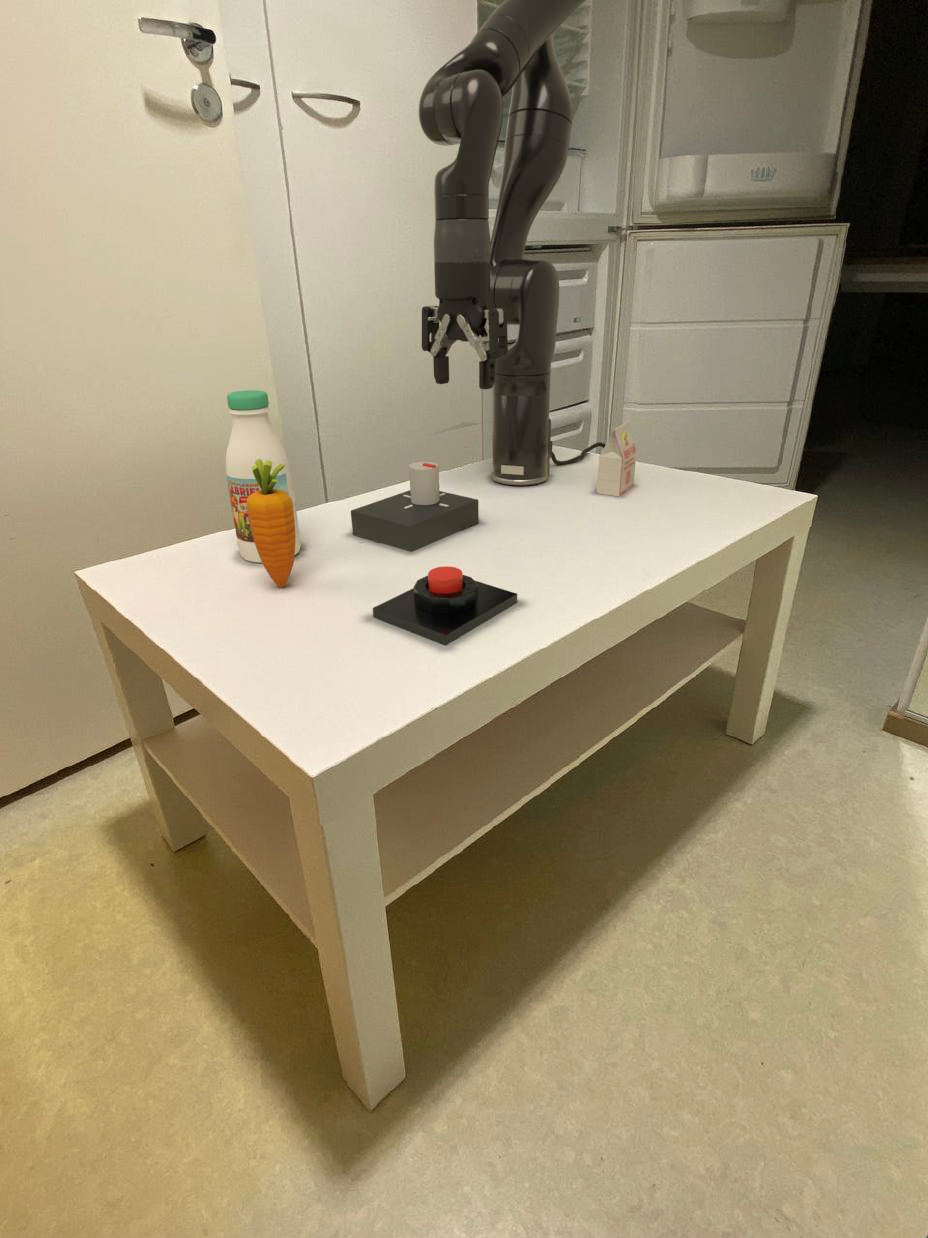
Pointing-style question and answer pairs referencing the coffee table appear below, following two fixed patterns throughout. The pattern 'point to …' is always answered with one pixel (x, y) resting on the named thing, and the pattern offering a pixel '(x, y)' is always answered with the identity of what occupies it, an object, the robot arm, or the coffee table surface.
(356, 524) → the panel
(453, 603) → the power switch
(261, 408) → the milk bottle
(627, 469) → the milk carton
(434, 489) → the timer knob
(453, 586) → the power button
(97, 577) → the coffee table surface
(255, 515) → the carrot
